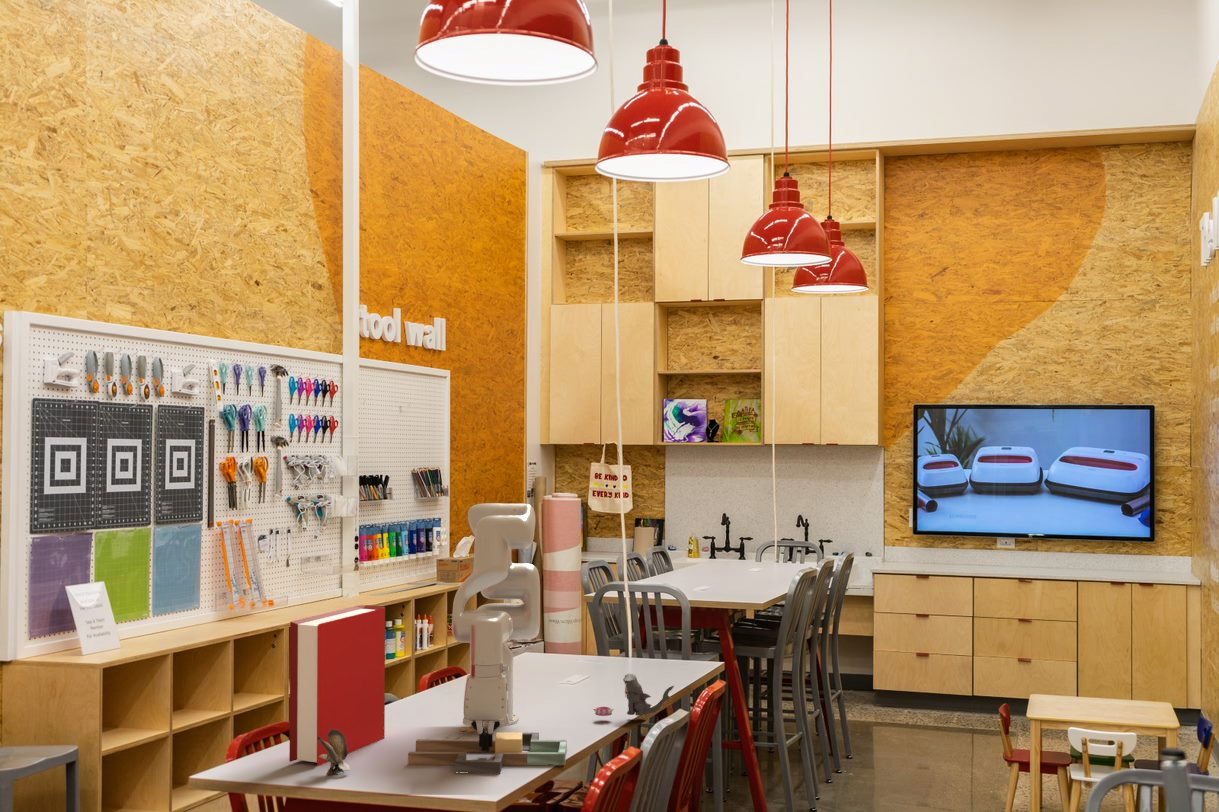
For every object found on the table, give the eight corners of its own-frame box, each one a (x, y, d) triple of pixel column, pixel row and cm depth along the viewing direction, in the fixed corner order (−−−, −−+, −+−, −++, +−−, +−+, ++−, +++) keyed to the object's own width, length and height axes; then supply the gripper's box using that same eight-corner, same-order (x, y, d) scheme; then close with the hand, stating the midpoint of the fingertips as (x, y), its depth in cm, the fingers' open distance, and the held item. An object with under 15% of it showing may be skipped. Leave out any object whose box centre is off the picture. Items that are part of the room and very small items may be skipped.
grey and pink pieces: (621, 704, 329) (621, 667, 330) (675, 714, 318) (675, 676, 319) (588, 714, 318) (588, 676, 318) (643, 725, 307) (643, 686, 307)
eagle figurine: (321, 768, 268) (321, 728, 268) (353, 768, 268) (353, 728, 268) (314, 778, 260) (314, 737, 261) (347, 778, 261) (347, 737, 261)
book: (317, 766, 270) (318, 624, 270) (289, 761, 273) (290, 621, 273) (387, 737, 295) (388, 606, 295) (360, 733, 298) (361, 604, 298)
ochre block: (496, 754, 280) (496, 732, 280) (522, 753, 280) (522, 732, 280) (495, 761, 274) (495, 739, 274) (521, 761, 274) (521, 739, 274)
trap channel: (421, 742, 290) (421, 732, 290) (567, 743, 290) (567, 732, 290) (403, 773, 265) (403, 761, 265) (563, 773, 265) (563, 762, 265)
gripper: (519, 667, 281) (519, 745, 281) (456, 666, 281) (455, 745, 281) (516, 674, 273) (516, 754, 273) (451, 673, 274) (451, 754, 273)
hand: (485, 749), depth 277 cm, fingers closed
